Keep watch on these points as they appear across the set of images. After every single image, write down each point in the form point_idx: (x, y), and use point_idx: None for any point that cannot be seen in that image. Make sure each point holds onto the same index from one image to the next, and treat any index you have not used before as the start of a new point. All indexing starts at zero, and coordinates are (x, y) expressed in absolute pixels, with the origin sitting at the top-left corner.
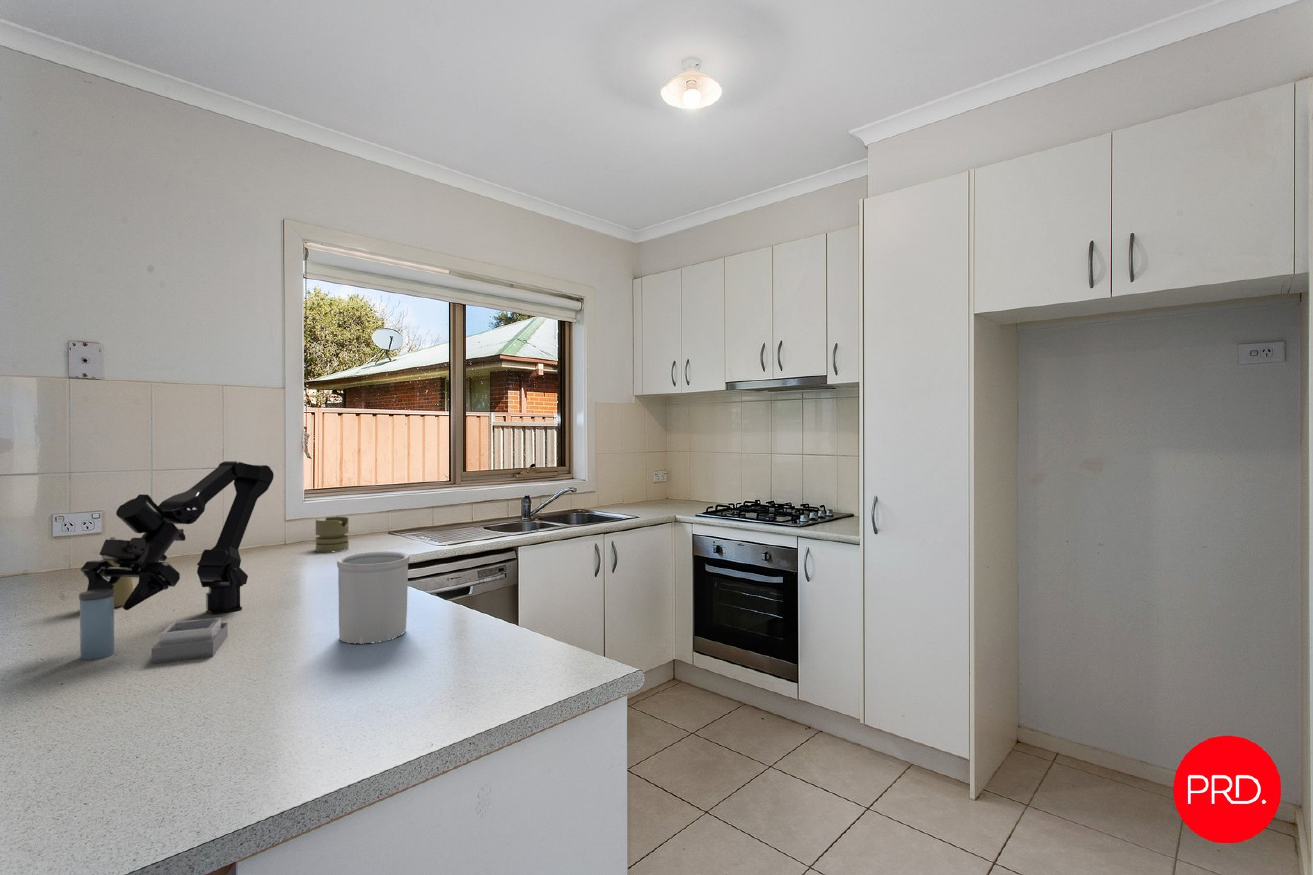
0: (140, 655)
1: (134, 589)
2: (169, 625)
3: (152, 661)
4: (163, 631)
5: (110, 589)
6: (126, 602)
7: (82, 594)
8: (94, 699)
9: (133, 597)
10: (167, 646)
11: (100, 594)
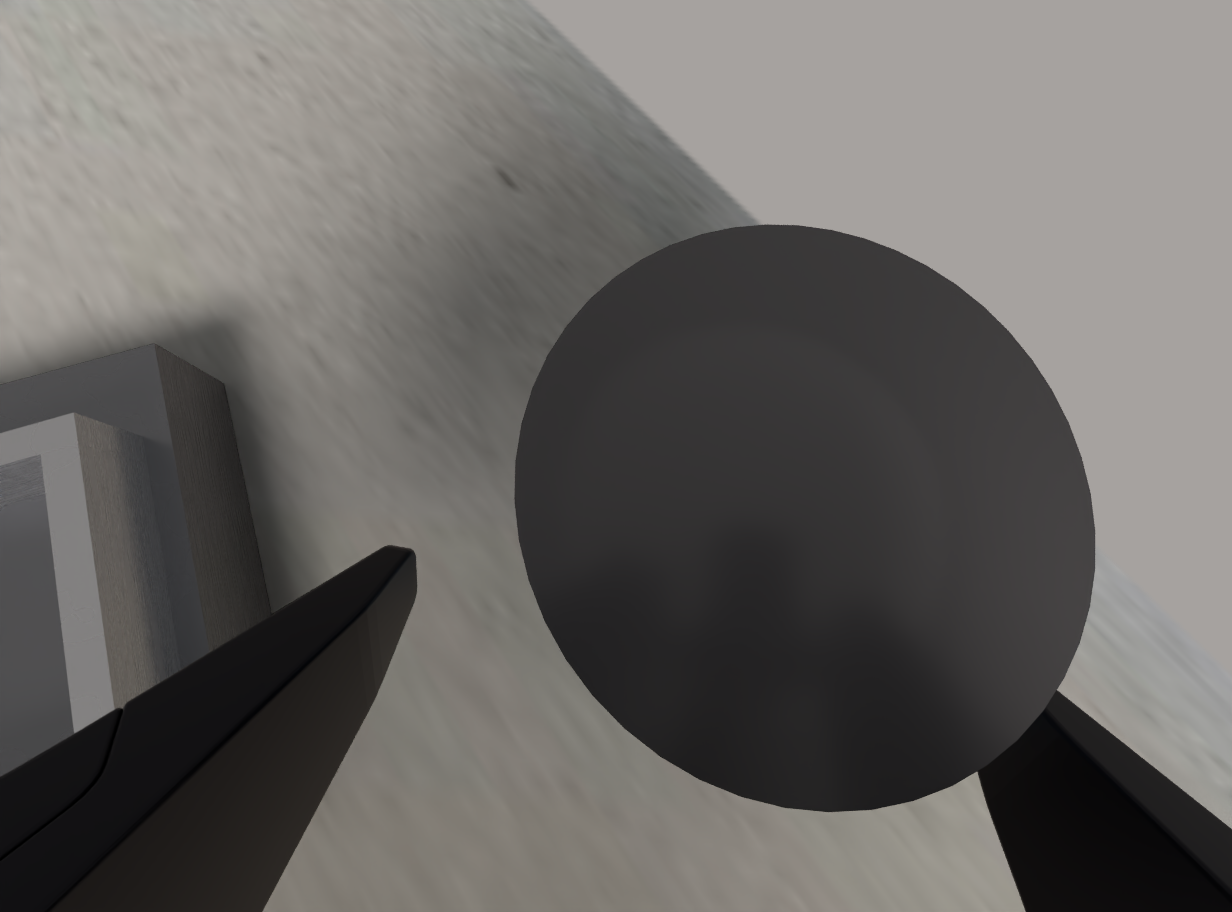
0: (380, 539)
1: (148, 781)
2: (107, 671)
3: (209, 377)
4: (77, 480)
5: (681, 685)
6: (359, 586)
7: (902, 281)
8: (244, 14)
9: (235, 647)
10: (61, 375)
11: (592, 301)
